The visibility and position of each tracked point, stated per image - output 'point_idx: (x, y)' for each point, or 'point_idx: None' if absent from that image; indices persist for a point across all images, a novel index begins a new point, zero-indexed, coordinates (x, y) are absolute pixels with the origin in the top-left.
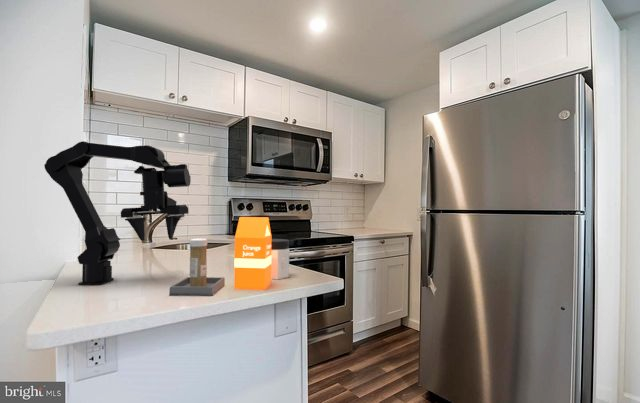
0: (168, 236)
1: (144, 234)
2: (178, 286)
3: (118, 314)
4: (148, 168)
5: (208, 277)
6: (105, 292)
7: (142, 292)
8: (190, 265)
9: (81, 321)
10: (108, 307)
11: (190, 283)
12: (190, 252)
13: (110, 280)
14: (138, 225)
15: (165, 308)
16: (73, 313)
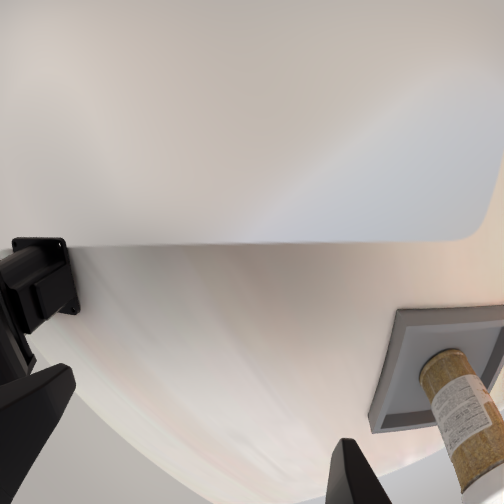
0: (329, 481)
1: (38, 388)
2: (396, 428)
3: (304, 488)
4: None
5: (480, 323)
6: (162, 387)
7: (274, 396)
8: (443, 440)
9: (262, 500)
10: (261, 469)
11: (426, 394)
12: (457, 475)
13: (68, 261)
14: (4, 478)
15: (378, 468)
16: (220, 482)
